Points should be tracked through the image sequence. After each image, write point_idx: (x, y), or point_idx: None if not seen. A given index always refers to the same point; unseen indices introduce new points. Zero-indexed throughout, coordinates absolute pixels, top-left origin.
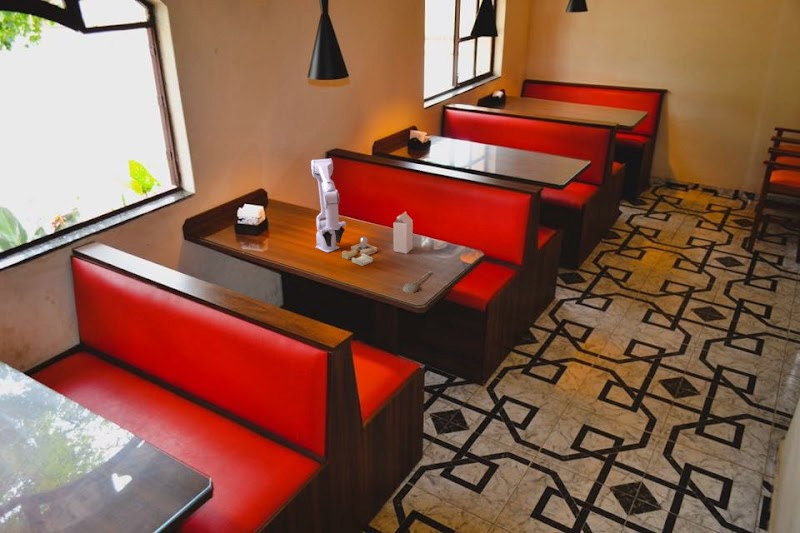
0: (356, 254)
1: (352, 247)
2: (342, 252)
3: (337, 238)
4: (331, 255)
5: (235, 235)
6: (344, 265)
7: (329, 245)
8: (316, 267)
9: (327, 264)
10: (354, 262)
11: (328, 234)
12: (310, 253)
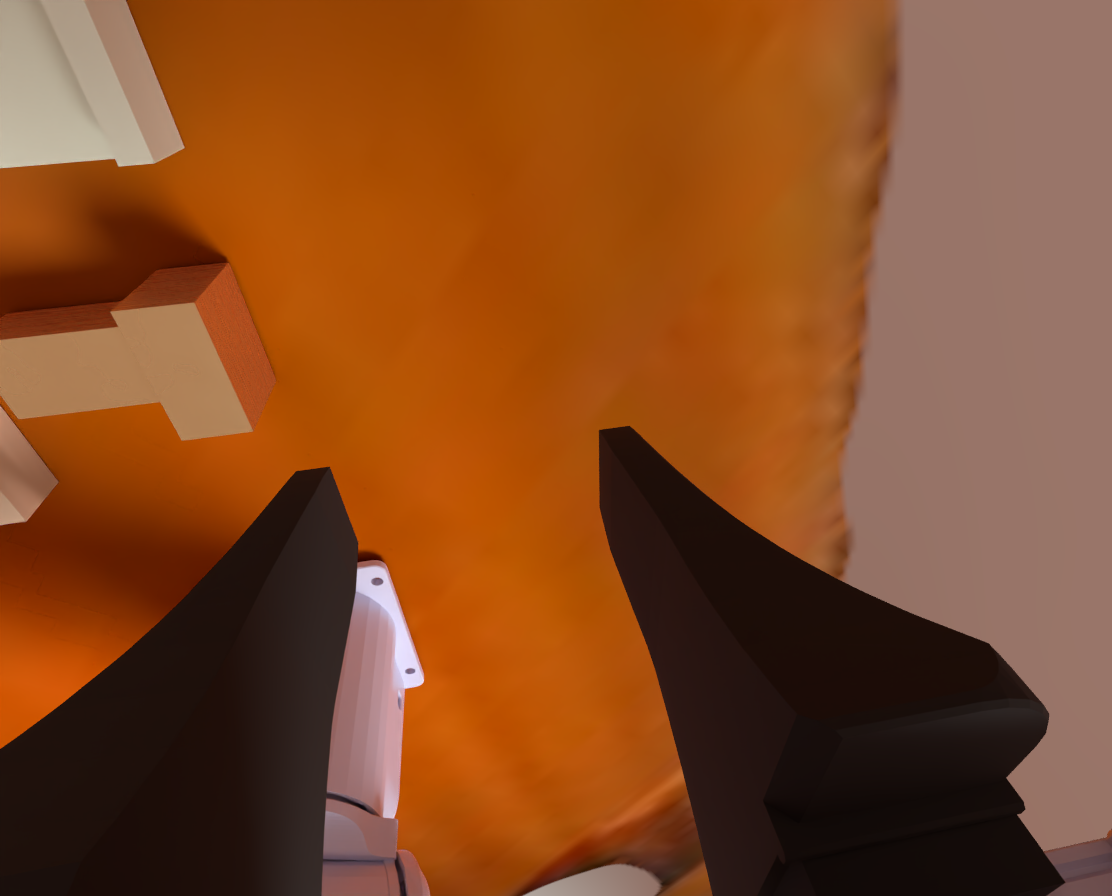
0: (3, 318)
1: (6, 496)
2: (251, 412)
3: (322, 602)
4: (375, 493)
5: (687, 874)
6: (378, 111)
7: (649, 450)
8: (717, 331)
9: (564, 319)
10: (149, 68)
11: (963, 750)
12: (529, 613)
